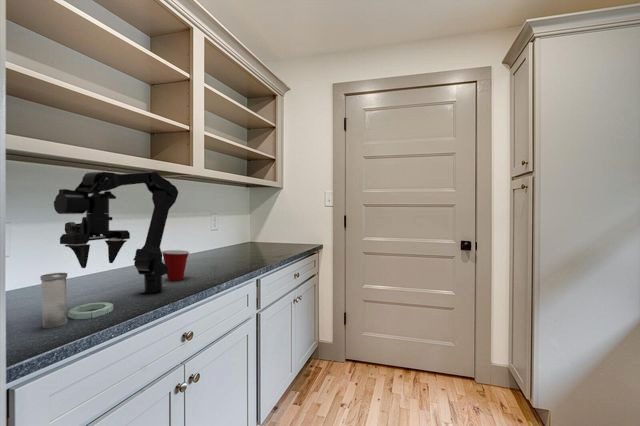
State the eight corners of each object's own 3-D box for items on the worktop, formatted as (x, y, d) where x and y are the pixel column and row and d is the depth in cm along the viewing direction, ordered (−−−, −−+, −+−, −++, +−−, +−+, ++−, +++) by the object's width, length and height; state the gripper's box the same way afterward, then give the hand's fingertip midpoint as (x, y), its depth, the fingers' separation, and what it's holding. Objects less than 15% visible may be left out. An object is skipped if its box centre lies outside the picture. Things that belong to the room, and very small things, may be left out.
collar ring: (80, 308, 98) (80, 303, 98) (117, 306, 100) (117, 301, 100) (61, 320, 88) (61, 314, 88) (103, 317, 90) (103, 312, 90)
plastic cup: (193, 279, 134) (193, 250, 134) (165, 283, 127) (164, 253, 127) (185, 275, 143) (185, 248, 142) (158, 278, 136) (158, 250, 136)
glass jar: (49, 321, 87) (48, 273, 87) (72, 319, 88) (71, 272, 88) (36, 329, 82) (35, 277, 81) (61, 327, 83) (60, 276, 82)
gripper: (103, 213, 109) (103, 259, 109) (44, 213, 91) (44, 269, 91) (131, 213, 106) (131, 261, 106) (76, 214, 88) (76, 271, 88)
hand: (97, 265), depth 98 cm, fingers open, 9 cm apart
